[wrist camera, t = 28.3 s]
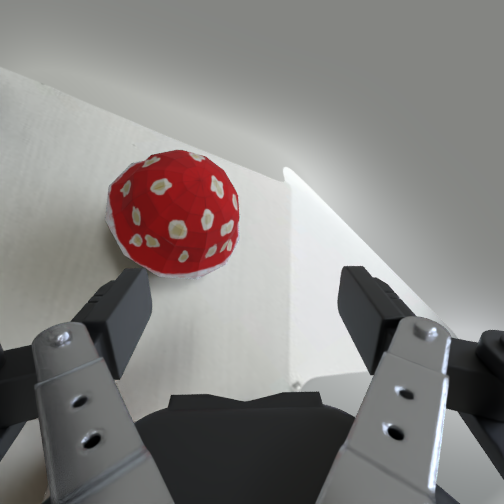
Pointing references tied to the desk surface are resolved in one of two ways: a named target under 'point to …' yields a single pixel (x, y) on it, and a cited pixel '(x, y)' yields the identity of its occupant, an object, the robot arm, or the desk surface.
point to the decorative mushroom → (174, 214)
